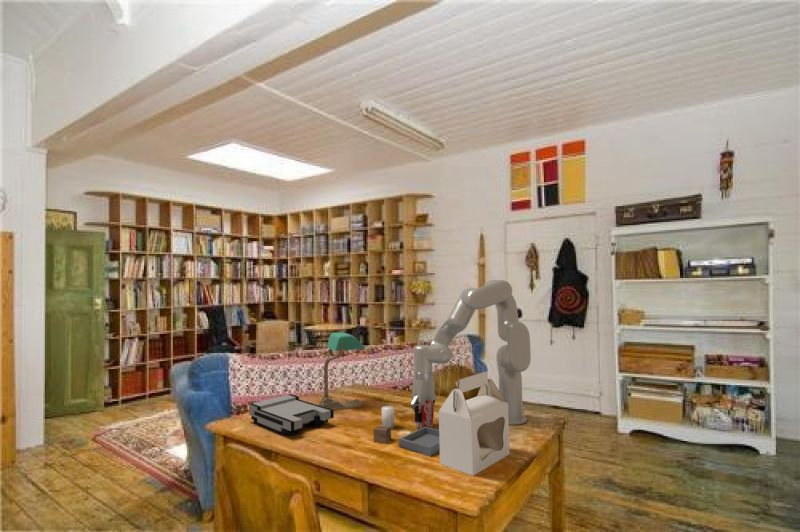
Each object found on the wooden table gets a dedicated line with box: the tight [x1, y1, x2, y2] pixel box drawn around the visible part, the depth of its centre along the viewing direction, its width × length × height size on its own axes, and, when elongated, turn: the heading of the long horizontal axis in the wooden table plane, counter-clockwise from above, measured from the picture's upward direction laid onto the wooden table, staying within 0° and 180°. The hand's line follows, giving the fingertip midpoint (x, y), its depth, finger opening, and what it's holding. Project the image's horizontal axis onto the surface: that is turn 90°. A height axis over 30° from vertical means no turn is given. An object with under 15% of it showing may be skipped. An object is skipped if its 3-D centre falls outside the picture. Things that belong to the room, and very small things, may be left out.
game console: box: [248, 393, 335, 437], centre depth 185 cm, size 21×32×8 cm, turn 47°
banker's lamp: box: [318, 331, 366, 412], centre depth 208 cm, size 16×21×35 cm
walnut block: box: [373, 424, 392, 445], centre depth 164 cm, size 5×5×5 cm
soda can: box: [415, 398, 434, 430], centre depth 177 cm, size 7×7×12 cm
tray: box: [398, 427, 440, 457], centre depth 158 cm, size 16×14×3 cm
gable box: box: [438, 371, 510, 477], centre depth 145 cm, size 22×13×28 cm, turn 136°
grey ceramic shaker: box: [381, 405, 395, 430], centre depth 178 cm, size 5×5×8 cm
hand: (424, 419), depth 177 cm, fingers closed on soda can, 7 cm apart
